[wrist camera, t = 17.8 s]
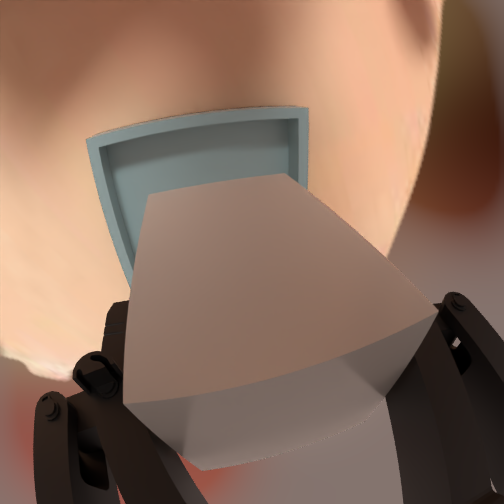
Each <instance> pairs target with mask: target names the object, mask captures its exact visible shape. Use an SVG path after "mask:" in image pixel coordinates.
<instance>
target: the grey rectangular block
mask: <svg viewBox="0 0 504 504" xmlns="http://www.w3.org/2000/svg"><path fill="white" fill-rule="evenodd" d="M438 312H439V311H438V310H437V308H436V307H435V306H434V305H433V304H432V303H431V302H430V301H429V300H428V299H427V298H426V297H425V296H424V295H423V294H422V293H421V292H420V291H419V290H418V289H417V288H416V287H415V286H414V285H413V284H412V283H411V281H409V280H408V279H407V278H406V277H405V276H404V275H403V274H402V273H401V272H400V271H399V270H398V269H397V268H396V267H395V266H394V265H393V264H392V263H391V262H390V261H389V260H388V259H387V258H386V257H385V256H384V255H382V254H381V253H380V252H379V251H378V250H377V249H376V248H375V247H374V246H373V245H372V244H370V243H369V242H368V241H367V240H366V239H365V238H364V237H363V236H362V235H360V234H359V233H358V232H357V231H356V230H355V229H354V228H352V227H351V226H350V225H349V224H348V223H347V222H345V221H344V220H343V219H342V218H341V217H340V216H338V215H337V214H336V213H335V212H334V211H332V210H331V209H330V208H329V207H328V206H326V205H325V204H324V203H323V202H321V201H320V200H319V199H318V198H316V197H315V196H314V195H313V194H311V193H310V192H309V191H308V190H306V189H305V188H304V187H302V186H301V185H300V184H299V183H297V182H296V181H295V180H293V179H292V178H291V177H289V176H288V175H287V174H285V173H281V174H272V175H264V176H256V177H248V178H241V179H233V180H227V181H220V182H214V183H207V184H201V185H196V186H190V187H184V188H179V189H174V190H168V191H163V192H158V193H153V194H149V195H148V199H147V204H146V208H145V212H144V217H143V221H142V226H141V231H140V236H139V241H138V246H137V252H136V258H135V264H134V270H133V276H132V283H131V290H130V298H129V306H128V316H127V326H126V338H125V352H124V374H123V404H124V405H125V406H126V407H127V408H128V409H129V410H130V411H131V412H132V413H133V414H134V415H135V416H136V417H137V418H138V419H139V420H140V421H141V422H142V423H143V424H144V425H145V426H147V427H148V428H149V429H150V430H151V431H152V432H153V433H154V434H156V435H157V436H158V437H159V438H160V439H161V440H163V441H164V442H165V443H166V444H167V445H169V446H170V447H171V448H172V449H174V450H175V451H176V452H177V453H179V454H180V455H181V456H183V457H184V458H185V459H187V460H188V461H189V462H191V463H192V464H193V465H195V466H196V467H198V468H199V469H200V470H202V471H204V470H211V469H218V468H223V467H229V466H234V465H239V464H244V463H248V462H252V461H257V460H261V459H265V458H268V457H272V456H275V455H279V454H282V453H286V452H289V451H292V450H295V449H298V448H301V447H304V446H307V445H310V444H313V443H315V442H318V441H321V440H323V439H326V438H328V437H331V436H333V435H336V434H338V433H341V432H343V431H345V430H348V429H350V428H352V427H354V426H356V425H358V424H361V423H363V422H365V421H366V419H367V418H368V417H369V416H370V415H371V414H372V412H373V411H374V410H375V409H376V407H377V406H378V405H379V404H380V402H381V401H382V400H383V399H384V397H385V396H386V395H387V393H388V392H389V391H390V389H391V388H392V387H393V385H394V384H395V382H396V381H397V380H398V378H399V377H400V375H401V374H402V372H403V371H404V369H405V368H406V366H407V365H408V363H409V362H410V360H411V359H412V357H413V356H414V354H415V352H416V351H417V349H418V348H419V346H420V344H421V343H422V341H423V339H424V337H425V336H426V334H427V332H428V330H429V329H430V327H431V325H432V323H433V321H434V320H435V318H436V316H437V314H438Z"/></svg>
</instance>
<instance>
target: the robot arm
mask: <svg viewBox="0 0 504 504" xmlns="http://www.w3.org/2000/svg"><path fill="white" fill-rule="evenodd" d="M433 305H434V306H435V307H436V308H437V310H438V311H439V312H438V314H437V316H436V318H435V320H434V321H433V323H432V325H431V327H430V329H429V330H428V332H427V334H426V336H425V337H424V339H423V341H422V343H421V344H420V346H419V348H418V349H417V351H416V352H415V354H414V356H413V357H412V359H411V360H410V362H409V363H408V365H407V366H406V368H405V369H404V371H403V372H402V374H401V375H400V377H399V378H398V380H397V381H396V382H395V384H394V385H393V387H392V388H391V389H390V391H389V392H388V393H387V395H386V396H385V397H386V402H387V406H388V410H389V415H390V420H391V425H392V430H393V435H394V440H395V446H396V451H397V457H398V463H399V470H400V477H401V485H402V494H403V503H404V504H504V341H503V340H502V339H501V337H500V336H499V335H498V333H497V332H496V331H495V330H494V329H493V328H492V326H491V325H490V324H489V322H488V321H487V320H486V319H485V318H484V316H483V315H482V314H481V313H480V312H479V311H478V310H477V308H475V306H474V305H473V304H472V303H471V302H470V301H469V300H468V299H467V298H466V297H465V296H464V295H462V294H460V293H457V292H449V293H447V294H446V295H445V297H444V299H443V301H442V303H438V304H433ZM128 306H129V300H128V301H122V302H116V303H113V305H112V306H111V308H110V310H109V311H108V313H107V317H106V323H105V326H106V327H105V329H104V336H103V342H102V349H101V351H95V352H90V353H88V354H86V355H84V356H83V357H81V359H80V360H79V361H78V362H77V363H76V365H75V367H74V370H73V380H74V381H75V382H76V383H77V384H78V385H79V386H80V387H81V388H82V389H83V390H84V391H82V392H80V393H78V394H75V395H72V396H70V397H67V398H65V397H64V396H63V395H62V394H60V393H59V392H54V391H51V392H48V393H46V394H44V395H43V396H42V397H41V398H40V399H39V401H38V402H37V405H36V410H35V420H34V443H33V452H34V453H33V457H34V481H35V492H36V500H37V504H120V500H119V495H118V491H117V486H118V488H119V491H120V493H121V495H122V497H123V499H124V501H125V503H126V504H208V503H207V501H206V500H205V498H204V497H203V495H202V494H201V492H200V491H199V489H198V488H197V486H196V485H195V483H194V481H193V480H192V478H191V476H190V475H189V473H188V471H187V470H186V468H185V466H184V465H183V463H182V461H181V460H180V458H179V456H178V454H177V452H176V451H175V450H174V449H172V448H171V447H170V446H169V445H167V444H166V443H165V442H164V441H163V440H161V439H160V438H159V437H158V436H157V435H156V434H154V433H153V432H152V431H151V430H150V429H149V428H148V427H147V426H145V425H144V424H143V423H142V422H141V421H140V420H139V419H138V418H137V417H136V416H135V415H134V414H133V413H132V412H131V411H130V410H129V409H128V408H127V407H126V406H125V405H124V404H123V374H124V352H125V338H126V326H127V316H128ZM457 337H458V339H459V340H460V341H461V343H460V344H459V345H458V347H455V346H453V345H452V344H453V343H454V341H455V340H456V338H457ZM490 478H491V480H490ZM491 481H492V483H493V485H494V487H495V489H496V491H497V493H495V492H494V491H493V489H492V487H491ZM116 484H117V485H116Z"/></svg>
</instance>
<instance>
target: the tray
mask: <svg viewBox="0 0 504 504" xmlns="http://www.w3.org/2000/svg"><path fill="white" fill-rule="evenodd" d="M308 129H309V122H308V108H306V107H299V106H263V107H246V108H233V109H222V110H213V111H205V112H197V113H190V114H184V115H178V116H172V117H166V118H161V119H156V120H151V121H146V122H142V123H137V124H133V125H129V126H125V127H121V128H117V129H113V130H109V131H106V132H102V133H99V134H96V135H94V136H92V137H90V138H88V139H86V143H87V148H88V153H89V158H90V162H91V167H92V171H93V175H94V179H95V183H96V187H97V191H98V195H99V198H100V202H101V205H102V209H103V212H104V216H105V219H106V222H107V225H108V229H109V232H110V235H111V238H112V241H113V244H114V247H115V249H116V252H117V255H118V258H119V261H120V263H121V266H122V269H123V271H124V274H125V276H126V279H127V281H128V284H129V286H130V289H131V283H132V276H133V270H134V264H135V258H136V252H137V246H138V241H139V236H140V231H141V226H142V221H143V217H144V212H145V208H146V204H147V199H148V195H149V194H153V193H158V192H163V191H168V190H174V189H179V188H184V187H190V186H196V185H201V184H207V183H214V182H220V181H227V180H233V179H241V178H248V177H256V176H264V175H272V174H281V173H285V174H287V175H288V176H289V177H291V178H292V179H293V180H295V181H296V182H297V183H299V184H300V185H301V186H302V187H304V188H305V189H306V190H307V185H308Z"/></svg>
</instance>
